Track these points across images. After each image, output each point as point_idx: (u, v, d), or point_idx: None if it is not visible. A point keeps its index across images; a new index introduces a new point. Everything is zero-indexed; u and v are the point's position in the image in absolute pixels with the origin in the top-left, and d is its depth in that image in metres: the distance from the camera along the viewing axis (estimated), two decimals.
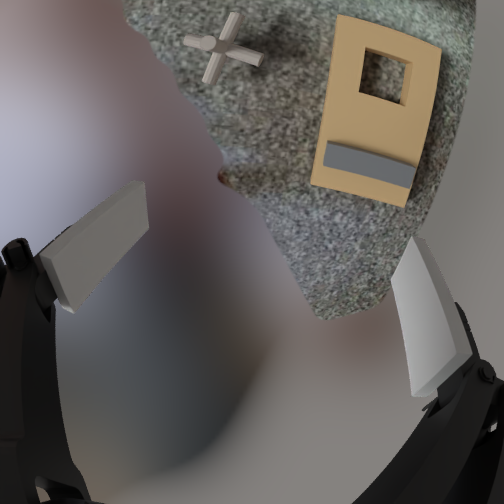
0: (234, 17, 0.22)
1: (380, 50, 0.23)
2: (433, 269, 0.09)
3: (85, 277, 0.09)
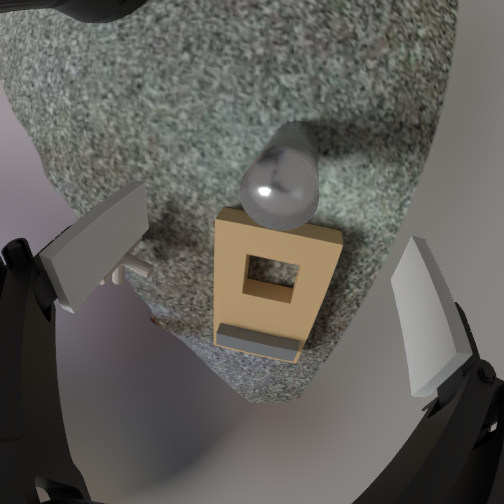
0: None
1: (263, 256, 0.31)
2: (433, 269, 0.09)
3: (85, 277, 0.09)
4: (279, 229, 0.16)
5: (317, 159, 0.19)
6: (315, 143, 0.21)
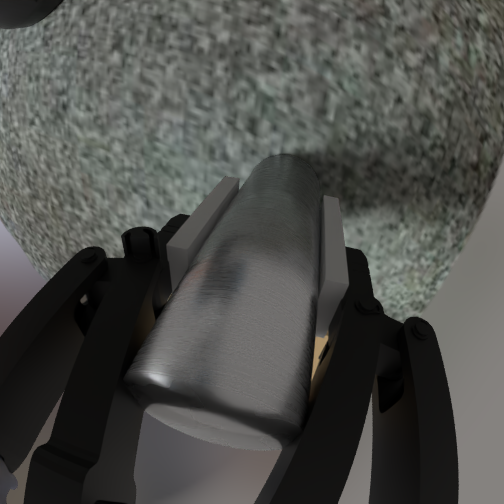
0: None
1: None
2: (332, 218, 0.11)
3: None
4: (222, 444, 0.07)
5: (318, 263, 0.09)
6: (316, 207, 0.12)
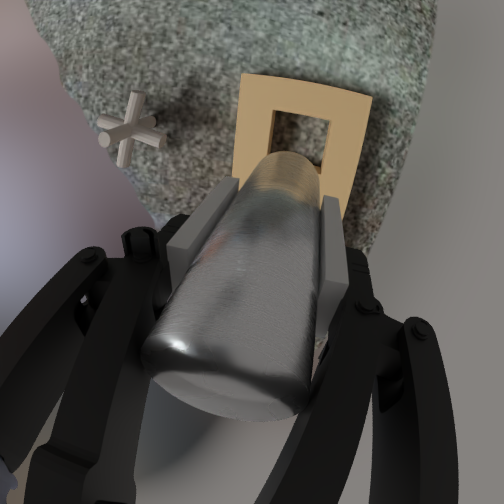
0: (133, 98, 0.25)
1: (290, 111, 0.26)
2: (332, 218, 0.11)
3: None
4: (231, 417, 0.07)
5: (318, 247, 0.10)
6: (316, 199, 0.13)
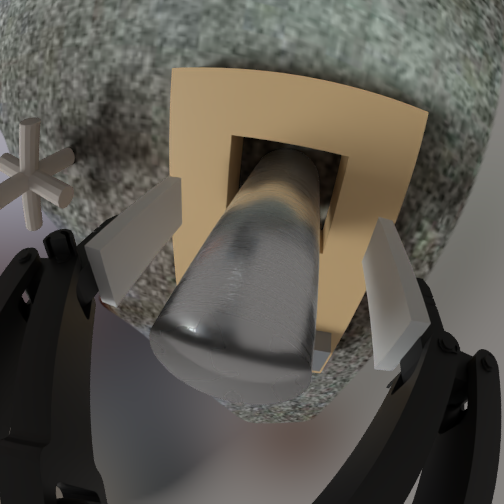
0: (21, 133, 0.13)
1: (266, 137, 0.14)
2: (396, 246, 0.10)
3: (128, 270, 0.10)
4: (235, 401, 0.08)
5: (318, 238, 0.11)
6: (316, 193, 0.13)
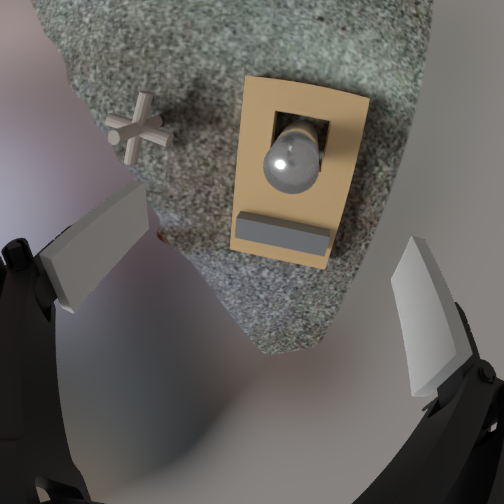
0: (141, 98, 0.27)
1: (292, 112, 0.28)
2: (433, 269, 0.09)
3: (85, 277, 0.09)
4: (291, 193, 0.22)
5: (317, 147, 0.25)
6: (316, 136, 0.27)
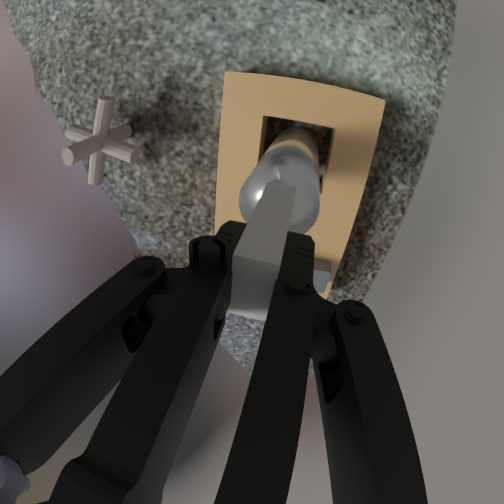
0: (100, 106, 0.21)
1: (285, 117, 0.22)
2: (283, 205, 0.12)
3: None
4: None
5: (318, 166, 0.18)
6: (316, 149, 0.21)
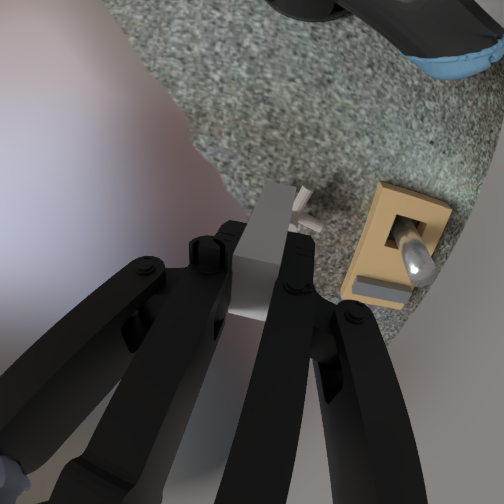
0: (306, 193, 0.39)
1: (406, 216, 0.40)
2: (283, 205, 0.12)
3: None
4: (419, 286, 0.34)
5: None
6: None
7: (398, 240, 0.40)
